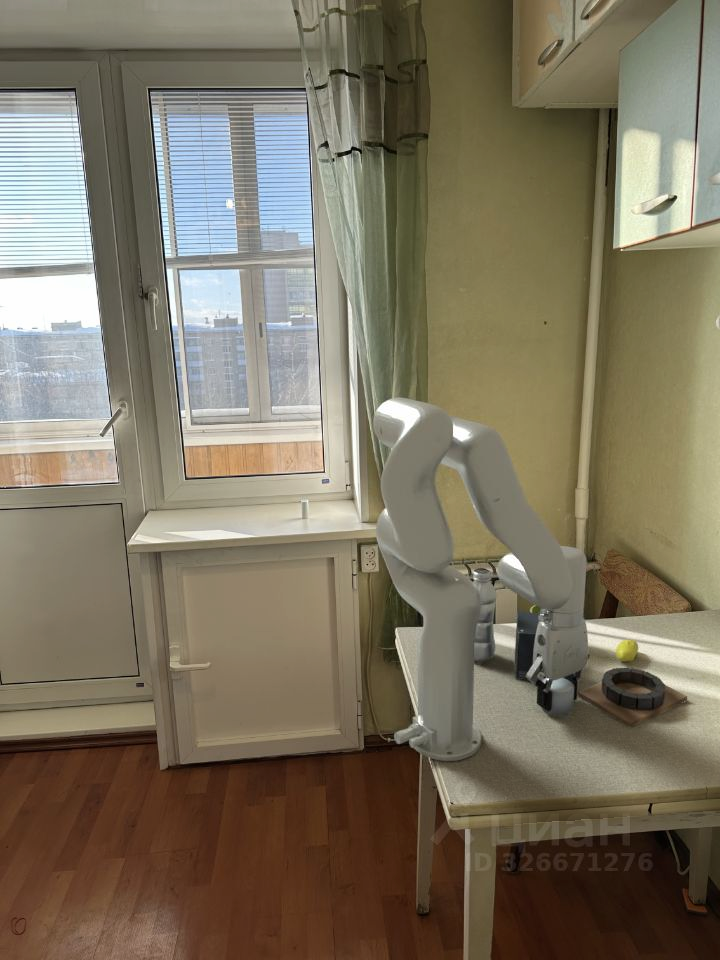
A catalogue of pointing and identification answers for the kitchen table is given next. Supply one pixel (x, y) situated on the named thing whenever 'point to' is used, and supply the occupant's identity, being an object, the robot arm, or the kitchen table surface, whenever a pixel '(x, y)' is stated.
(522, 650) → the small box
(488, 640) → the plastic bottle
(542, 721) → the kitchen table surface
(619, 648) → the lemon
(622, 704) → the segmented ring
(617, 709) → the board
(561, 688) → the cap
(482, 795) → the kitchen table surface
